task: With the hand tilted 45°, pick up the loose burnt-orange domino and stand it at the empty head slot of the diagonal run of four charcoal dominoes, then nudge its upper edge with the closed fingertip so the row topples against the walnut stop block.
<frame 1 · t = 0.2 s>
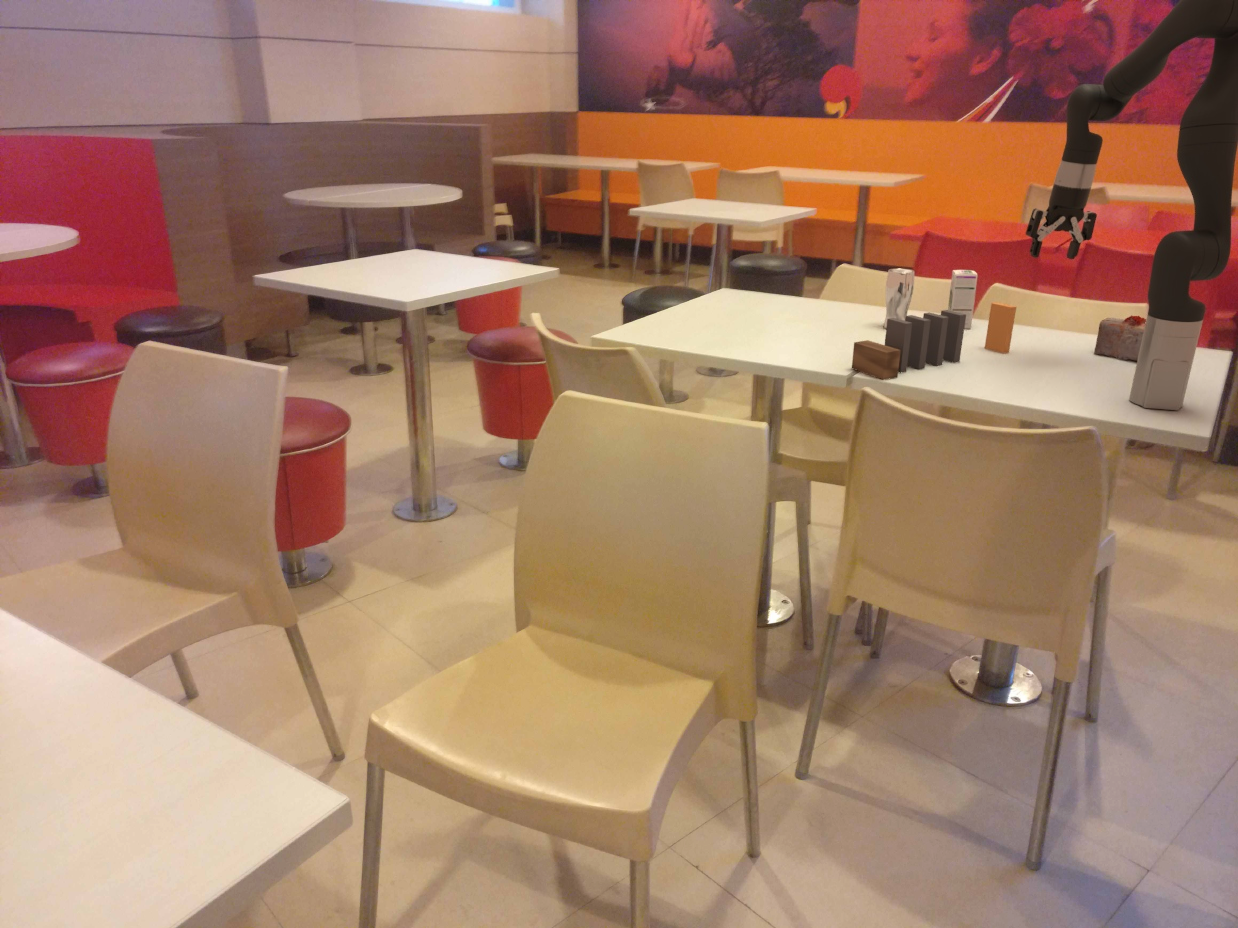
hand: (1052, 257, 203), 23 cm above the table, tool pointing down, fingers open, 8 cm apart
domino 3: (929, 362, 205), on the table
domino 5: (894, 369, 201), on the table
orange tile: (996, 350, 215), on the table
beer glass: (894, 328, 237), on the table
domino 4: (912, 365, 203), on the table
food item: (1126, 358, 209), on the table
domino 2: (947, 359, 208), on the table
stop block: (874, 372, 198), on the table
syrup box: (957, 327, 238), on the table
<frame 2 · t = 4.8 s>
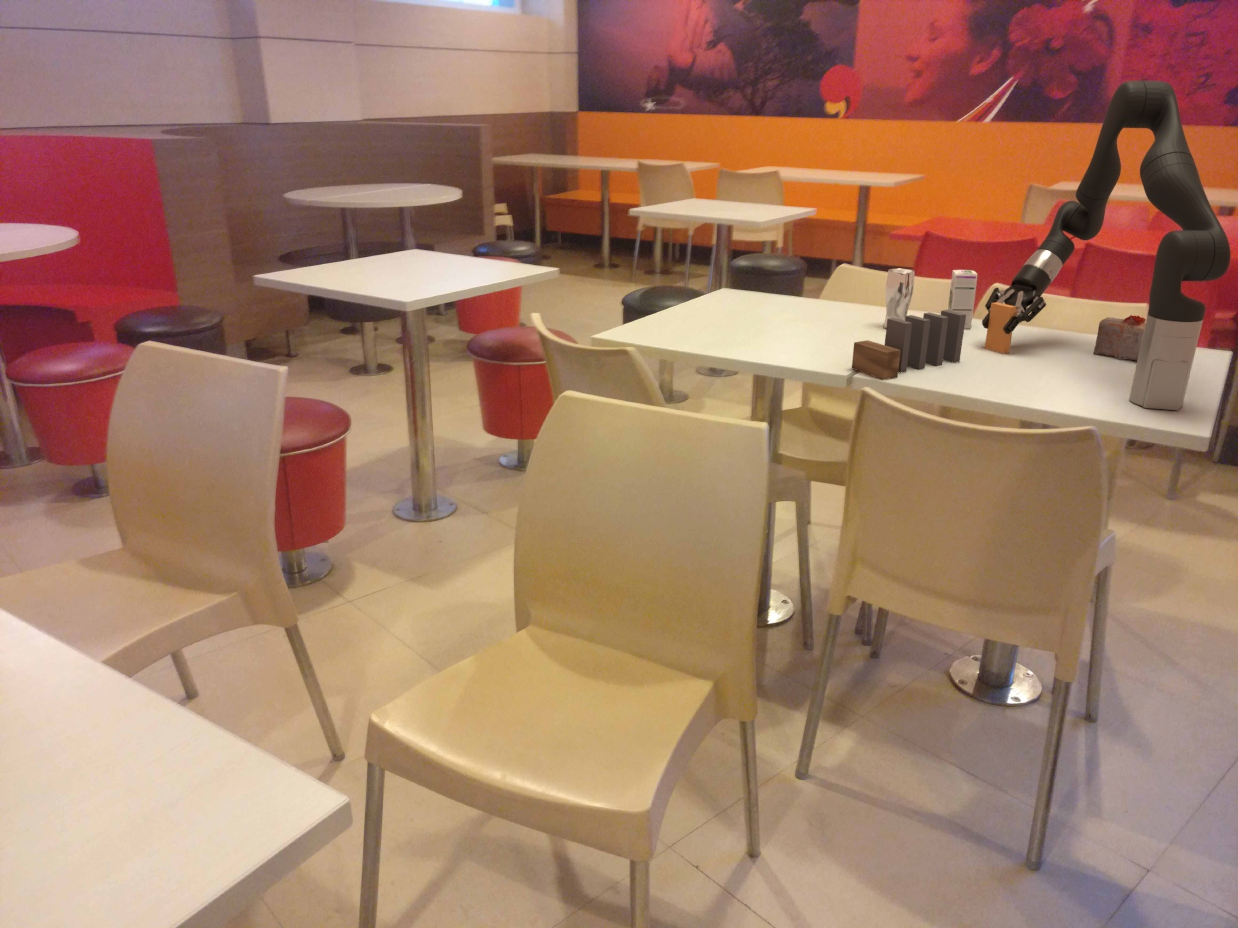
hand: (995, 328, 212), 5 cm above the table, tool tilted 45°, fingers closed on orange tile, 5 cm apart
orange tile: (996, 350, 215), on the table, touching gripper
everything else where it was.
when the fingers open (6 cm above the table, at t = 10.5 s): orange tile stays where it is, on the table.
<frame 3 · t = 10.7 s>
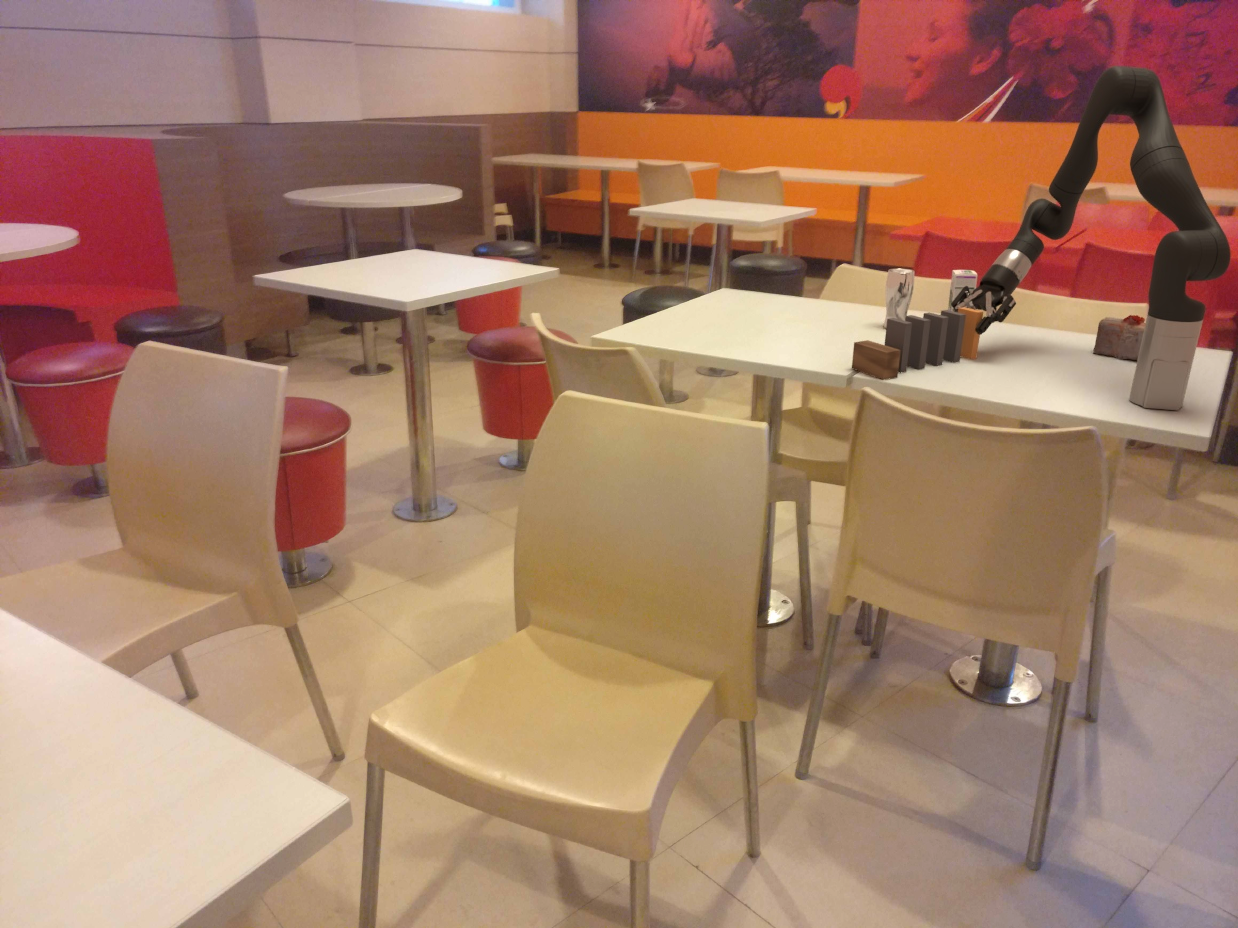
hand: (963, 328, 207), 7 cm above the table, tool tilted 45°, fingers open, 7 cm apart
orange tile: (964, 356, 210), on the table
everything else where it was.
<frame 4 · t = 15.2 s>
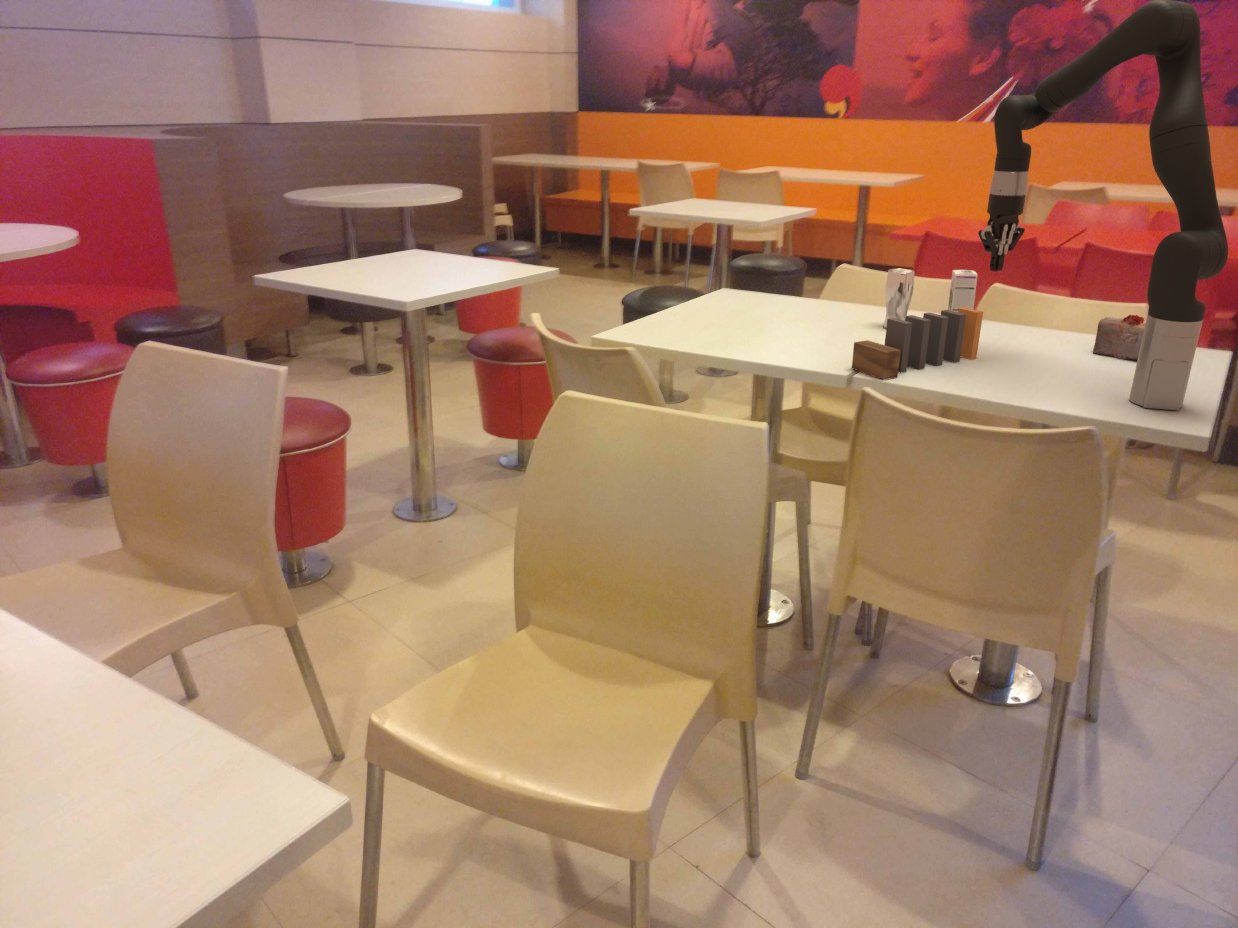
hand: (995, 270, 206), 19 cm above the table, tool pointing down, fingers closed
nothing on the table moved.
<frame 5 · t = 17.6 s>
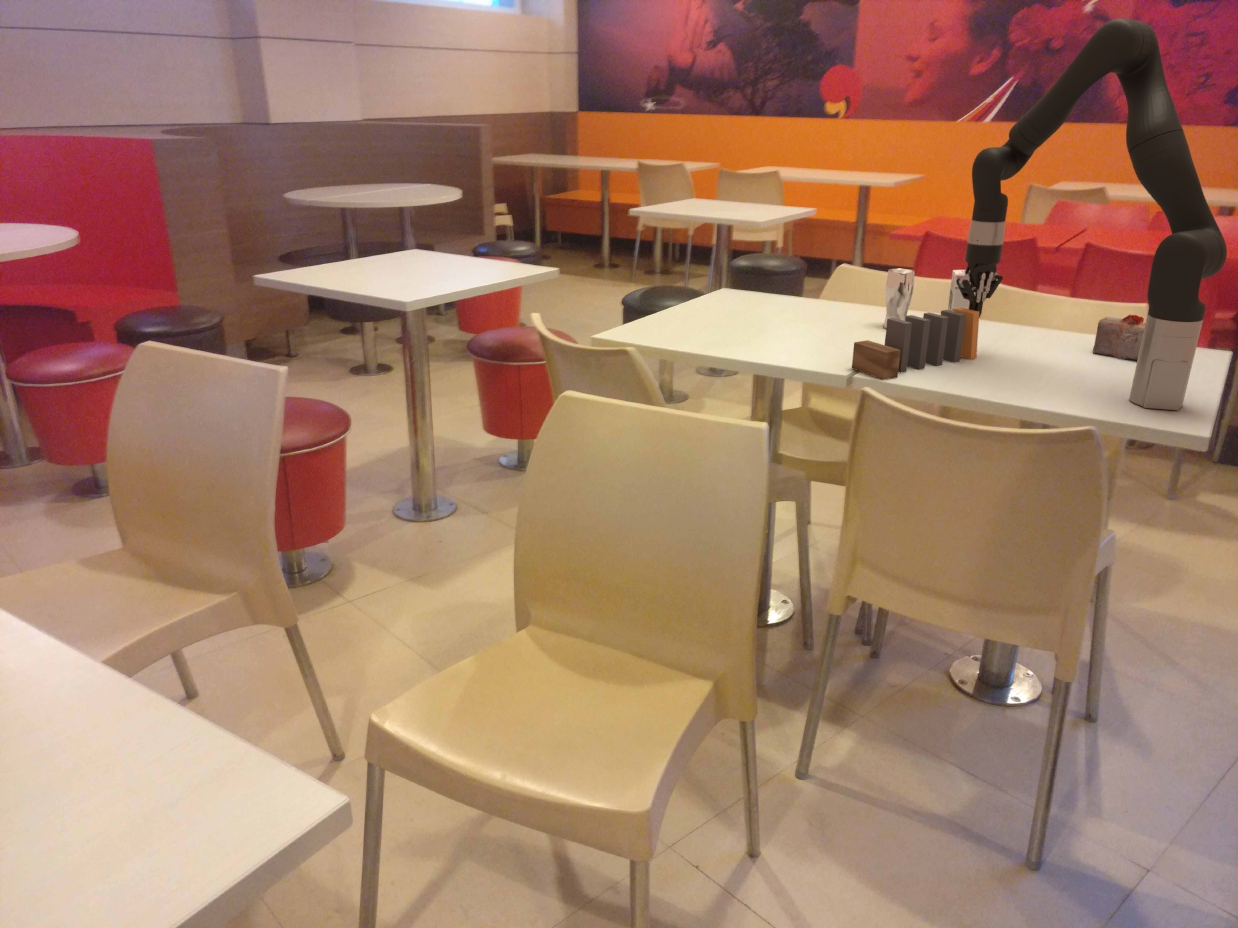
hand: (974, 317, 208), 9 cm above the table, tool pointing down, fingers closed
orange tile: (964, 355, 210), on the table, tilted 7°
everything else where it was.
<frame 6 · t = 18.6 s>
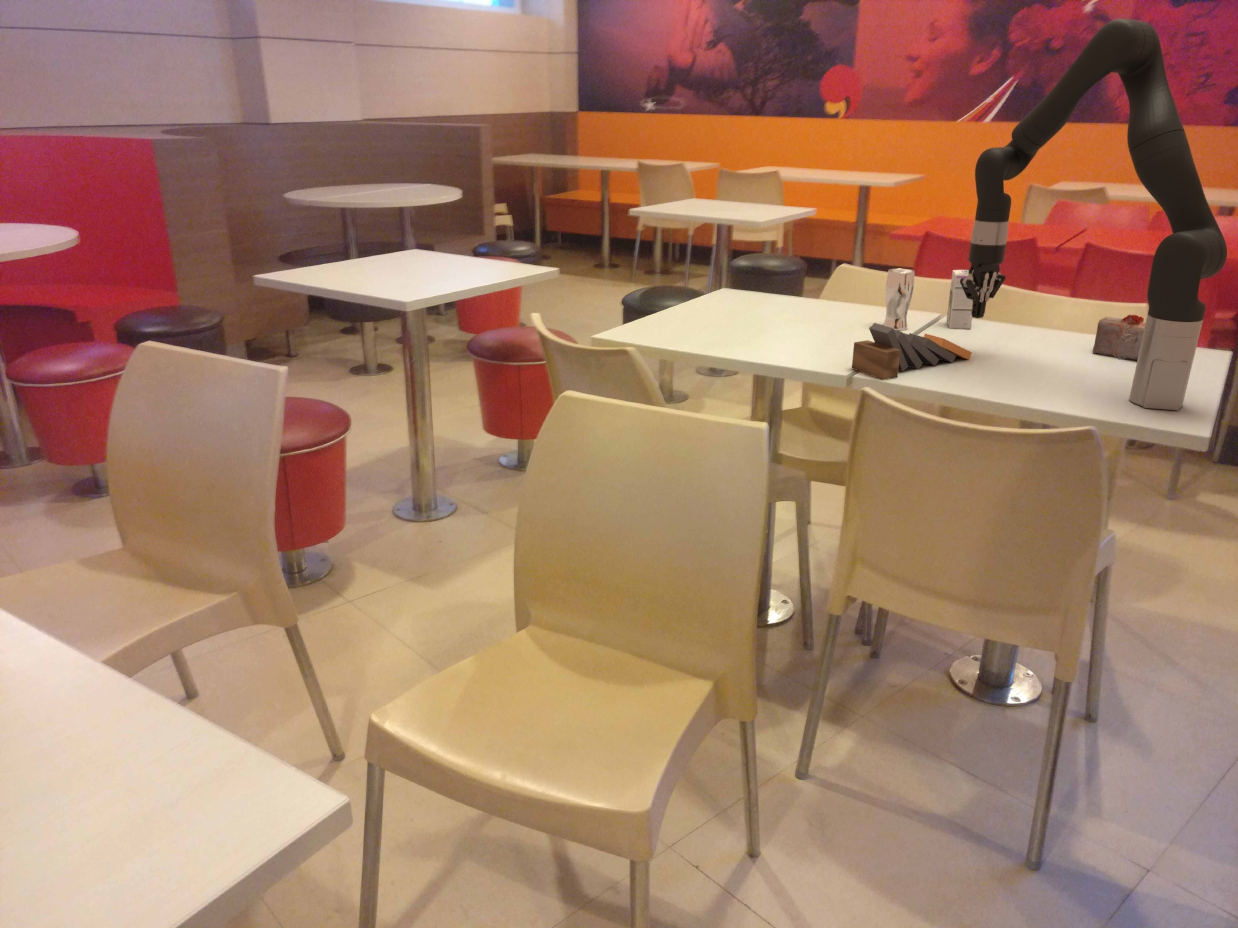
hand: (977, 317, 208), 9 cm above the table, tool pointing down, fingers closed
domino 3: (927, 360, 205), point 1 cm above the table, tilted 54°, touching domino 2, domino 4
domino 5: (896, 365, 201), point 1 cm above the table, tilted 32°, touching domino 4, stop block
orange tile: (961, 353, 210), point 1 cm above the table, tilted 66°, touching domino 2
domino 4: (910, 363, 203), point 1 cm above the table, tilted 43°, touching domino 3, domino 5
domino 2: (944, 356, 207), point 1 cm above the table, tilted 61°, touching domino 3, orange tile
everything else where it was.
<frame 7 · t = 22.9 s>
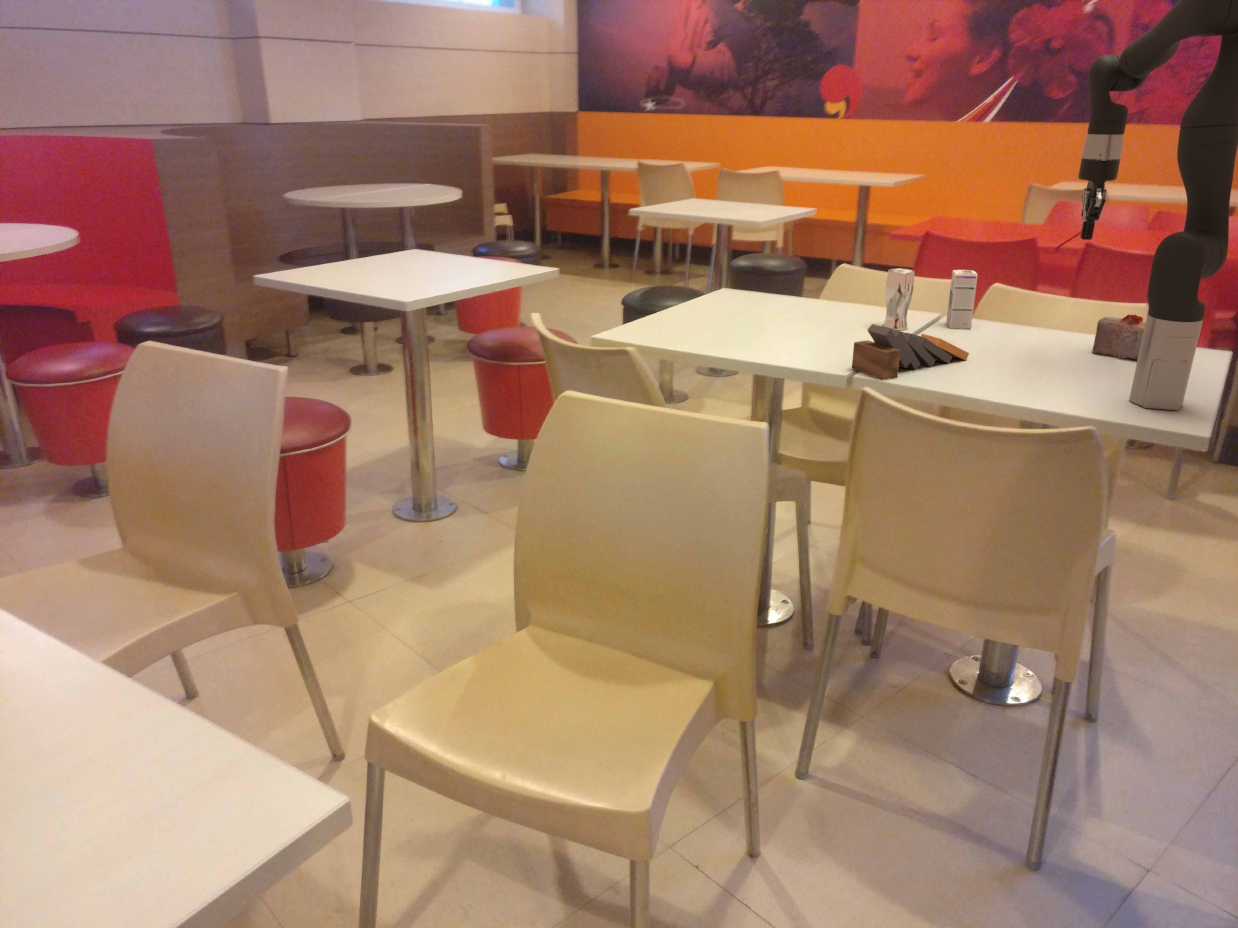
hand: (1085, 239, 199), 27 cm above the table, tool pointing down, fingers closed
domino 3: (923, 360, 204), point 1 cm above the table, tilted 51°, touching domino 2, domino 4
domino 5: (898, 362, 201), point 1 cm above the table, tilted 41°, touching domino 4, stop block
orange tile: (958, 354, 209), point 1 cm above the table, tilted 65°, touching domino 2
domino 2: (941, 357, 207), point 1 cm above the table, tilted 59°, touching domino 3, orange tile
at the end: domino 5 tilted 41°; domino 3 tilted 50°; orange tile inside the target area (2.0 cm from its centre), point 0.8 cm above the table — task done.
